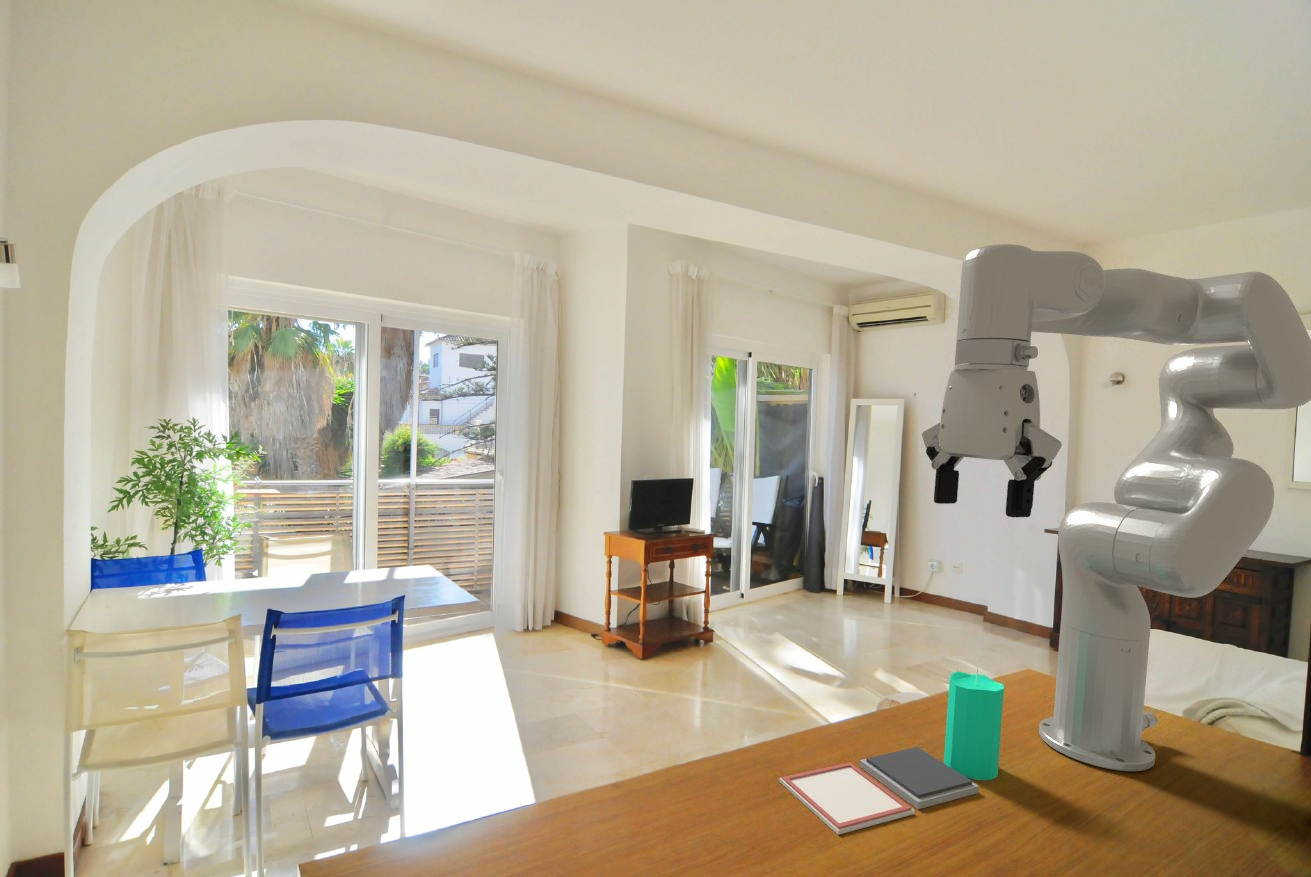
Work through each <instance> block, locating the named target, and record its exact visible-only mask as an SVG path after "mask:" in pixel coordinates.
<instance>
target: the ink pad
mask: <svg viewBox="0 0 1311 877" xmlns="http://www.w3.org/2000/svg"><path fill="white" fill-rule="evenodd" d="M859 768H861V769H862V771H865V772H866V774H869V776H872V777H873V779H875V780H877V781H878V782H880V783H881V784H882V785H884V787H886V788H887V789H889V790H891V791H892V793H894V794H896V796H898V797H900V798H902V799H903V801H906V802H907V803H908V804H909V805H911V807H912V806H913V808H915V809H917V810H921V809H925V808H928V807H932V806H936V805H940V804H943V803H947V802H950V801H954V800H958V799H962V798H965V797H969V796H972V795H976V794H979V788H980V787H979V785H978V784H976V783H974V782H973V780H972V779H971V778H968V777H965V776H963V775H962V774H960V773H958V772H957V771H955V770H954V769H952V768H950V767H949V766H947V765H946V764H944V762H942V761H941V760H939V759H938V758H936V757H934V756H933V755H931V754H929V753H928V752H926V751H925V750H923V749H922V748H920V747H919V746H915V747H912V748H907V749H902V750H901V749H900V750H897V751H891V752H889V753H884V754H879V755H878V754H877V755H875V756H869V757H866V758H863V759H860V760H859Z"/></svg>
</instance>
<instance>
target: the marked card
mask: <svg viewBox="0 0 1311 877" xmlns="http://www.w3.org/2000/svg"><path fill="white" fill-rule="evenodd" d="M778 780H779V781H778V782H779V783H780V784H781V785H782V786H783V787H784V788H785V789H787V791H789V792H790V793H791V794H792V795H793V796H794V797H795V798H796V799H798V800H799V801H800V802H801V803H802V804H803V805H804V806H806V808H808V809H809V810H810V811H811V812H812V813H813V814H814V815H815V816H816V817H817V818H819V819H820V821H822V822H823V823H824V824H825V825H826V826H828V828H830V830H832V831H833V832H834V833H835V834H836V835H839V836H840V835H842V834H846V833H849V832H854V831H858V830H861V829H864V828H869V827H871V826H875V825H878V824H882V823H886V822H890V821H894V820H898V819H901V818H905V817H908V816H912V815H915V809H914V808H912V806H910V804H909V805H908V804H907V803H906V802H904V800H902V799H901V798H899V796H897V795H895V793H893V792H891V791H890V790H888V788H887V787H886V788H885V786H883V784H882V785H881V784H880V783H879V781H878V782H877V781H876V779H874V778H872V777H871V776H870V775H868V773H865V772H864V770H861V769H860V767H857V766H856V765H855V764H854V763H852V762H850V761H849V762H846V763H845V762H844V763H840V764H836V765H830V766H827V767H822V768H818V769H814V770H809V771H804V772H803V771H802V772H800V773H799V772H798V773H795V774H794V773H793V774H790V775H785V776H782V777H779V779H778Z"/></svg>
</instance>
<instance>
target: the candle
mask: <svg viewBox="0 0 1311 877" xmlns="http://www.w3.org/2000/svg"><path fill="white" fill-rule="evenodd" d="M975 672H976V673H968V672H963V671H955V672H952V673H950V675H949V683H948V699H947V712H946V726H945V727H946V728H945V729H946V730H945V742H944V755H943V756H944V757H943V763H944V764H946V765H947V766H949V767H950V768H952V769H954V770H955V771H957V772H958V773H960V774H962V775H963V776H965V777H966V778H968V779H970V780H975V781H992V780H993V779H996V778H998V774H999V763H1000V762H999V761H1000V760H999V759H1000V746H1001V734H1002V721H1003V719H1002V718H1003V706H1004V694H1005V693H1004V692H1005V685H1004V684H1003V683H1000V682H998V681H995V679H994V680H993V679H992V678H990V677H989V676H988V675H986V674H979V673H978V672H979V668H976V671H975Z"/></svg>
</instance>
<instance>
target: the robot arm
mask: <svg viewBox="0 0 1311 877" xmlns="http://www.w3.org/2000/svg"><path fill="white" fill-rule="evenodd" d="M959 288H960V290H959V304H958V314H957V315H958V318H957V328H956V343H955V354H954V355H955V356H954V367H953V370H951V371H950V373H949V376H948V380H947V385H946V387H945V393H944V396H943V402H942V408H941V416H940V421H939V422H938V423H937V424H935V425H933V426H931V427H929V428H927V429H926V430H924V431H923V432H922V433H921V437H922V439H923V444H924V447H925V448H926V449H925V454H926V455H927V457H928V458H929V460H930V462H931V463H930V464H931V468H932V469H933V470H935V480H934V492H933V502H934V503H935V504H938V505H940V504H941V505H942V504H943V505H944V504H946V505H947V504H948V505H950V504H954V505H955V504H956V503H957V502H958V495H959V494H958V491H959V480H960V471H959V470H957V469H955V468H957V466H958V465H959V464H960V463H961V461H962V460H963V459H964V458H971V459H982V460H991V461H993V460H994V461H1003V462H1004V463H1005V465H1006V466H1007V469H1008V470H1009V471H1010V473H1011V475H1012V476H1013V478H1012V479H1011V478H1010V479H1008V482H1007V489H1006V491H1007V492H1006V499H1005V500H1006V502H1005V515H1006V516H1007V517H1009V518H1029V517H1030V516H1031V514H1032V509H1033V505H1034V494H1035V482H1037V481H1040V479H1041V478H1042V475H1044V473H1045V472H1046V471H1047V470H1048V469H1049V468H1051V467H1052V465H1053V460H1055V458H1056V456H1057V455H1058V453H1059V451H1060V449H1061V448H1062V445H1063V443H1062V442H1061V441H1060V440H1059V439H1058V438H1056V437H1055V436H1053V435H1052V434H1050V433H1048V432H1046V431H1045V430H1043V429H1041V407H1040V406H1041V404H1040V403H1041V402H1040V392H1039V386H1038V379H1037V375H1036V372H1035V371H1032V370H1029V367H1030V366H1029V365H1030V360H1033V359H1036V358H1038V355H1039V349H1038V347H1037V346H1033V345H1032V346H1031V341H1032V339H1031V338H1032V333H1042V334H1043V333H1046V334H1063V335H1075V336H1084V337H1098V338H1099V337H1100V338H1101V337H1103V338H1105V337H1107V338H1109V337H1110V338H1120V339H1127V340H1133V341H1139V342H1140V341H1141V342H1148V343H1153V344H1159V345H1160V344H1161V345H1167V346H1194V345H1196V346H1197V345H1212V344H1214V346H1203V347H1195V348H1190V349H1186V350H1183V351H1180V352H1178V353H1175V354H1174V355H1173V356H1171V357H1169V358H1168V360H1167V361H1166V362H1165V363H1164V364H1163V365H1162V368H1161V370H1160V373H1159V377H1158V392H1159V405H1160V417H1161V418H1160V419H1161V420H1160V421H1161V422H1160V428H1159V430H1158V431H1157V432H1156V434H1155V435H1154V437H1153V438H1152V439H1151V440H1150V441H1149V442H1148V443H1147V444H1146V445H1145V447H1143V449H1142V450H1141V451H1140V452H1139V453H1138V454H1137V455H1136V457H1134V459H1133V460H1131V462H1130V463H1129V464H1128V465H1127V467H1125V469H1124V470H1123V471H1122V472H1121V474H1120V475H1119V477H1118V478H1117V480H1116V483H1115V485H1114V489H1113V490H1114V491H1113V498H1114V501H1115V503H1113V502H1104V501H1103V502H1102V501H1097V502H1095V501H1092V502H1085V503H1082V504H1078V505H1076V506H1075V507H1072V508H1071V509H1070V510H1069V511H1067V512H1066V513H1065V515H1064V516H1063V518H1062V519H1061V521H1060V524H1059V526H1058V533H1057V542H1058V551H1059V556H1060V558H1059V559H1060V563H1061V564H1060V566H1061V573H1062V575H1061V576H1062V598H1061V599H1062V600H1061V602H1062V603H1061V616H1060V618H1061V619H1060V625H1059V626H1060V627H1059V640H1058V653H1057V666H1056V668H1057V669H1056V679H1055V680H1056V682H1055V694H1054V695H1055V696H1054V706H1053V707H1054V708H1053V716H1050V717H1047V718H1043V719H1042V720H1041V721H1040V723H1039V724H1038V734H1039V737H1040V738H1041V739H1042V740H1043V741H1044V742H1045V743H1046V745H1049V747H1051V748H1052V749H1054V750H1056V752H1060V753H1061V754H1063V755H1065V756H1067V757H1070V758H1072V759H1074V760H1077V761H1079V762H1082V763H1085V764H1088V765H1092V766H1094V767H1099V768H1103V769H1108V770H1114V771H1119V772H1142V771H1146V770H1149V769H1150V768H1153V767H1154V765H1155V761H1156V752H1155V751H1154V748H1152V746H1150V744H1149V743H1147V742H1146V741H1144V740H1143V739H1142V737H1143V732H1144V731H1145V730H1146V729H1149V728H1153V727H1156V726H1157V725H1158V724H1159V723H1158V721H1159V720H1158V718H1157V716H1156V715H1155V713H1153V712H1152V711H1149V710H1148V711H1144V710H1145V697H1146V687H1147V686H1146V685H1147V671H1148V659H1149V649H1150V637H1151V627H1152V626H1151V624H1152V622H1151V616H1150V613H1149V608H1148V606H1147V603H1146V601H1145V599H1144V596H1143V595H1142V592H1141V591H1140V589H1139V588H1144V589H1146V590H1147V589H1148V590H1152V591H1155V592H1159V593H1163V594H1164V593H1165V594H1168V595H1171V596H1172V595H1173V596H1177V597H1181V598H1182V597H1183V598H1200V597H1203V596H1205V595H1208V594H1209V593H1212V592H1213V591H1214V590H1215V589H1217V587H1219V586H1220V584H1221V583H1222V582H1223V581H1224V580H1225V578H1227V577H1228V575H1229V574H1230V573H1231V571H1232V570H1233V569H1234V568H1235V566H1236V565H1237V564H1238V562H1240V560H1241V559H1242V557H1243V556H1244V555H1245V554H1246V552H1247V551H1248V550H1249V549H1250V547H1251V546H1252V545H1253V544H1254V542H1256V539H1257V538H1258V537H1259V536H1260V534H1261V533H1262V532H1263V530H1264V529H1265V527H1266V525H1267V524H1268V522H1269V520H1270V519H1271V515H1272V511H1273V508H1274V503H1275V487H1274V484H1273V481H1272V478H1271V476H1270V475H1269V474H1268V472H1267V471H1266V470H1265V469H1264V468H1263V467H1262V466H1260V465H1258V464H1257V463H1255V462H1252V461H1250V460H1247V459H1244V458H1237V457H1233V454H1234V449H1235V448H1234V442H1233V439H1232V437H1231V435H1230V433H1229V432H1228V430H1227V429H1226V427H1225V426H1224V425H1223V423H1222V422H1220V421H1219V420H1218V419H1217V417H1216V416H1215V413H1214V409H1230V410H1231V409H1233V410H1235V409H1236V410H1237V409H1238V410H1241V409H1242V410H1288V409H1295V408H1298V407H1302V406H1304V405H1306V404H1307V403H1309V402H1310V401H1311V337H1310V335H1309V333H1308V330H1307V329H1306V327H1305V325H1304V321H1302V318H1301V316H1300V314H1299V312H1298V310H1297V308H1296V306H1295V304H1294V302H1293V301H1292V299H1291V297H1290V296H1289V295H1288V294H1289V293H1288V292H1286V290H1285V289H1284V287H1282V285H1281V284H1280V282H1278V281H1277V280H1276V279H1275V278H1274V277H1272V276H1270V275H1269V274H1266V273H1264V272H1261V271H1260V272H1259V271H1247V272H1240V273H1238V272H1237V273H1231V274H1226V275H1218V276H1210V277H1202V278H1201V277H1200V278H1184V277H1179V276H1174V275H1169V274H1164V273H1160V272H1155V271H1151V270H1148V269H1147V270H1146V269H1142V268H1129V267H1128V268H1112V269H1110V268H1109V269H1103V267H1102V266H1101V265H1100V263H1099V261H1097V260H1096V259H1095V258H1093V257H1092V256H1090V255H1089V254H1086V253H1083V252H1080V251H1079V252H1078V251H1073V250H1071V251H1070V250H1059V251H1058V250H1057V251H1056V250H1054V251H1052V250H1049V251H1048V250H1034V249H1033V250H1032V249H1031V248H1029V247H1027V246H1024V245H1020V244H1011V243H1010V244H1009V243H1006V244H1005V243H1001V244H991V245H984V246H980V247H977V248H975V249H973V250H971V251H970V252H968V253H967V254H966V256H965V257H964V259H963V262H962V265H961V277H960V287H959ZM1241 342H1242V343H1244V342H1245V343H1247V344H1236V345H1235V344H1234V345H1233V344H1232V345H1215V344H1227V343H1230V344H1231V343H1241Z"/></svg>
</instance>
